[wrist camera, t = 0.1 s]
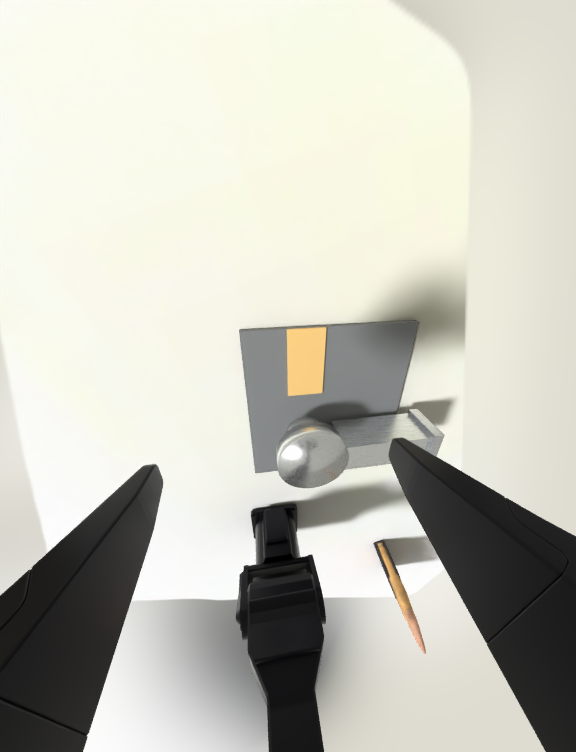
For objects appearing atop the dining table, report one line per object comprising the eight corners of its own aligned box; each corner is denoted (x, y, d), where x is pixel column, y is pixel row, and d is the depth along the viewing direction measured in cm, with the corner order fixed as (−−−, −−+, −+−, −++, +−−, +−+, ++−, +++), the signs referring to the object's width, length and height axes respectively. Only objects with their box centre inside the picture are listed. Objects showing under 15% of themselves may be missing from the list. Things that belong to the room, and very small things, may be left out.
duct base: (383, 453, 32) (395, 472, 29) (255, 469, 30) (255, 490, 27) (415, 320, 23) (436, 329, 21) (239, 329, 21) (238, 340, 19)
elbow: (275, 460, 28) (279, 493, 24) (272, 411, 24) (276, 441, 21) (406, 444, 30) (429, 473, 26) (420, 397, 26) (449, 422, 23)
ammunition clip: (373, 542, 42) (413, 638, 32) (383, 539, 42) (426, 634, 32) (382, 567, 48) (420, 656, 37) (391, 564, 48) (431, 653, 37)
